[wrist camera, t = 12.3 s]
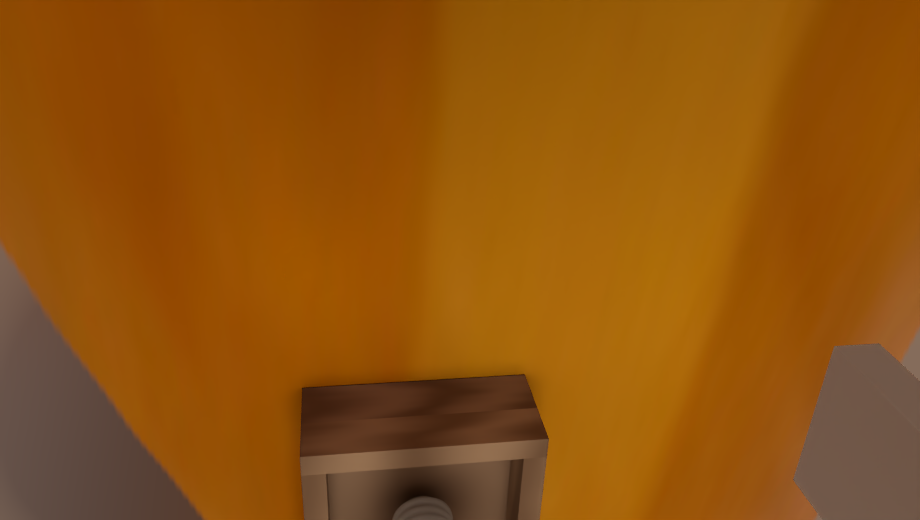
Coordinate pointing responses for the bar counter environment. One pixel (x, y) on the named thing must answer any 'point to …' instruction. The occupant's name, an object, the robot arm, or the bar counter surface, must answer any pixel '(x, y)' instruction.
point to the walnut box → (423, 448)
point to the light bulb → (423, 509)
